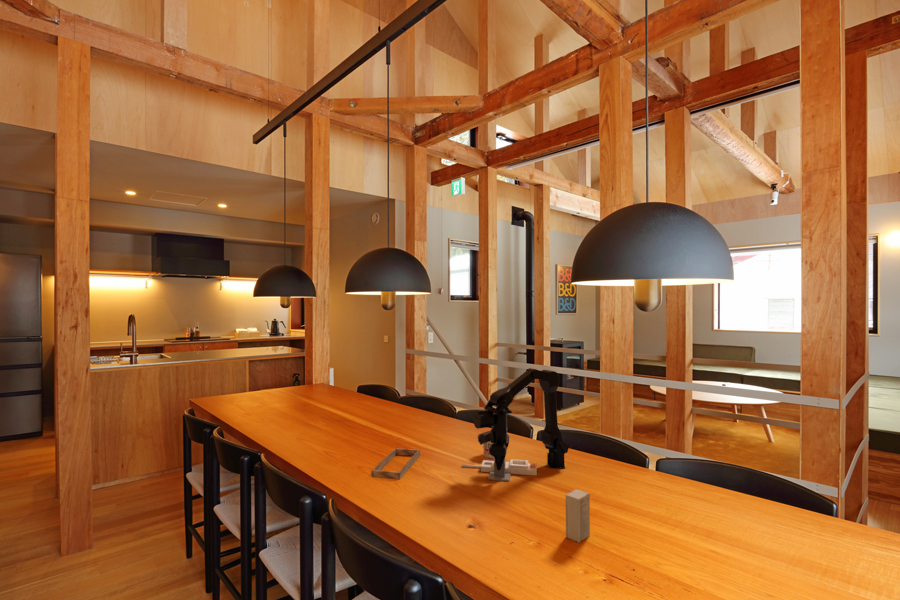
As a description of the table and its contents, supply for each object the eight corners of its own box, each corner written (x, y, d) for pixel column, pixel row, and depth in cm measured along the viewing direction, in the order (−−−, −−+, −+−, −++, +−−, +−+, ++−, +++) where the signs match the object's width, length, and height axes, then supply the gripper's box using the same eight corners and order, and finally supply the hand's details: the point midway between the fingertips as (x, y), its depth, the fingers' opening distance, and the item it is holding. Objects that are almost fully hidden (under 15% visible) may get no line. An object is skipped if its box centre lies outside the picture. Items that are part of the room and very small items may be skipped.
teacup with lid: (478, 455, 196) (478, 429, 196) (491, 451, 202) (491, 425, 203) (500, 462, 187) (500, 434, 188) (512, 456, 194) (512, 430, 194)
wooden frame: (420, 455, 196) (420, 449, 196) (400, 479, 168) (400, 472, 168) (395, 453, 198) (395, 448, 198) (371, 477, 170) (371, 470, 170)
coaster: (510, 473, 174) (510, 472, 174) (509, 481, 166) (509, 479, 166) (490, 472, 175) (490, 470, 175) (488, 479, 168) (488, 478, 168)
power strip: (536, 468, 179) (536, 457, 179) (536, 475, 172) (536, 464, 172) (463, 463, 186) (463, 453, 186) (460, 469, 178) (460, 459, 178)
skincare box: (577, 530, 129) (576, 488, 129) (590, 535, 126) (590, 492, 126) (565, 537, 125) (564, 494, 125) (578, 543, 121) (578, 499, 122)
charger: (505, 473, 172) (505, 457, 172) (504, 477, 168) (504, 461, 168) (495, 472, 173) (495, 457, 173) (494, 476, 169) (494, 460, 169)
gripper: (482, 418, 182) (482, 456, 182) (475, 430, 164) (475, 473, 163) (509, 420, 180) (509, 458, 179) (505, 432, 161) (505, 475, 161)
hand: (499, 465), depth 171 cm, fingers open, 9 cm apart
